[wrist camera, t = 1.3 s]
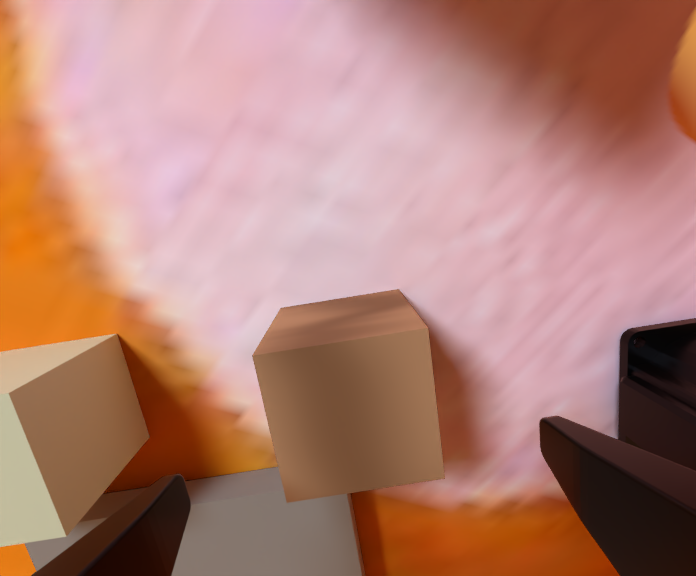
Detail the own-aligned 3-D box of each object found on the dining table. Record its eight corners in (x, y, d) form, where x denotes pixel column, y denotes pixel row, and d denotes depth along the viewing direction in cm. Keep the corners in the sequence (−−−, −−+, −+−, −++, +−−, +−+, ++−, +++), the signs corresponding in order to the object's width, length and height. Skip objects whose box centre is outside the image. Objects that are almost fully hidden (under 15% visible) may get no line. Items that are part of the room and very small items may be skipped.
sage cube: (118, 333, 15) (8, 393, 10) (150, 435, 16) (66, 536, 11) (2, 351, 15) (-166, 420, 10) (42, 452, 16) (-90, 560, 11)
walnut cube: (398, 288, 15) (427, 327, 10) (411, 395, 16) (444, 478, 11) (281, 307, 15) (252, 355, 10) (302, 412, 16) (286, 502, 11)
